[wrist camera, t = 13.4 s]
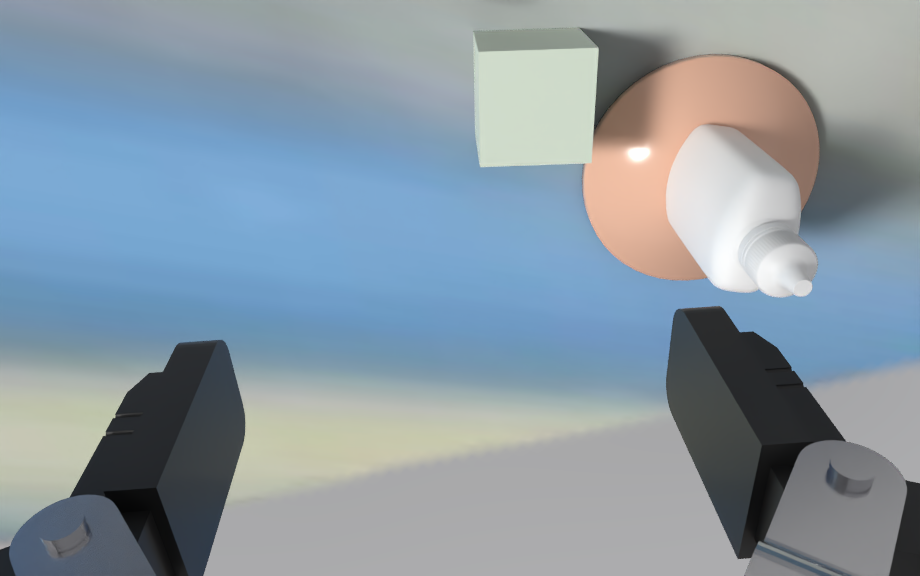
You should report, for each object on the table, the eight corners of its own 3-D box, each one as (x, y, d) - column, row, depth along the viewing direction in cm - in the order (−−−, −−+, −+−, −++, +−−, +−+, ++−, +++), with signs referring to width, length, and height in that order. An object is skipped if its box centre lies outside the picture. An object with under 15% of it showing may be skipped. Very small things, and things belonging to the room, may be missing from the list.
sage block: (473, 30, 35) (478, 52, 30) (578, 27, 35) (598, 47, 30) (475, 133, 37) (480, 167, 33) (573, 130, 37) (591, 163, 33)
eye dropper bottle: (770, 158, 37) (902, 264, 27) (690, 238, 39) (783, 367, 29) (710, 106, 36) (824, 198, 25) (631, 193, 38) (706, 311, 27)
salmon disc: (587, 59, 35) (590, 62, 35) (834, 48, 35) (842, 52, 35) (576, 278, 41) (579, 285, 40) (789, 268, 41) (795, 275, 40)
